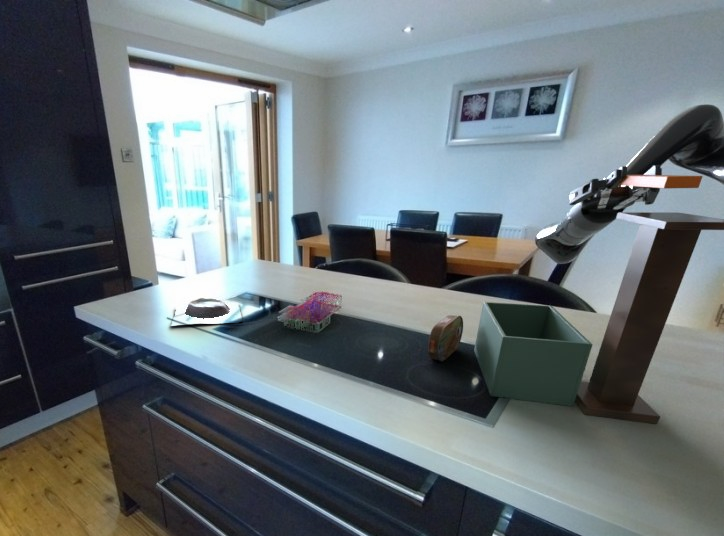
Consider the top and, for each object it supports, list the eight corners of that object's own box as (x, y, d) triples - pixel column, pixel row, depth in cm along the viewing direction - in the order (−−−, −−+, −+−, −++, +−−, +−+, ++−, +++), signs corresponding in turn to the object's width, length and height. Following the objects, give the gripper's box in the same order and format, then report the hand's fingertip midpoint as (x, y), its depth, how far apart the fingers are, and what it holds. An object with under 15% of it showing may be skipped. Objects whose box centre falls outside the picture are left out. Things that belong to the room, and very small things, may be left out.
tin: (437, 367, 84) (442, 330, 81) (423, 362, 86) (427, 327, 83) (461, 345, 94) (467, 312, 91) (448, 342, 96) (453, 309, 93)
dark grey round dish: (169, 328, 110) (168, 315, 108) (176, 306, 128) (174, 295, 127) (243, 323, 112) (242, 310, 111) (239, 302, 131) (238, 291, 129)
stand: (622, 388, 74) (686, 212, 62) (664, 431, 62) (754, 222, 49) (560, 381, 77) (610, 212, 64) (589, 421, 64) (657, 221, 52)
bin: (538, 356, 87) (552, 305, 83) (573, 406, 69) (592, 344, 64) (474, 350, 91) (483, 301, 86) (490, 396, 73) (502, 336, 68)
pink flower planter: (312, 298, 133) (312, 283, 131) (354, 303, 126) (355, 288, 124) (267, 326, 109) (266, 308, 107) (316, 335, 102) (316, 316, 100)
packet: (634, 184, 71) (637, 174, 70) (698, 188, 55) (703, 175, 55) (608, 184, 72) (611, 175, 71) (663, 188, 56) (667, 176, 56)
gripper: (552, 198, 85) (592, 151, 68) (632, 197, 80) (694, 147, 64) (550, 231, 84) (590, 192, 67) (631, 232, 80) (694, 190, 63)
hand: (640, 171), depth 66 cm, fingers closed on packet, 4 cm apart
